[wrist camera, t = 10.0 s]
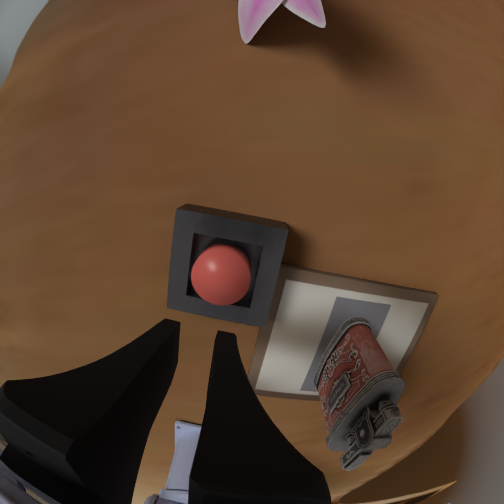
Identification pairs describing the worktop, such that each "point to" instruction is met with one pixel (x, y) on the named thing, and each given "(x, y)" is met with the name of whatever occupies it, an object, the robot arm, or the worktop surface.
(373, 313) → the board
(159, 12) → the worktop surface
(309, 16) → the lily
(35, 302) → the worktop surface
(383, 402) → the lighter
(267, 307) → the button housing
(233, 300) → the button
